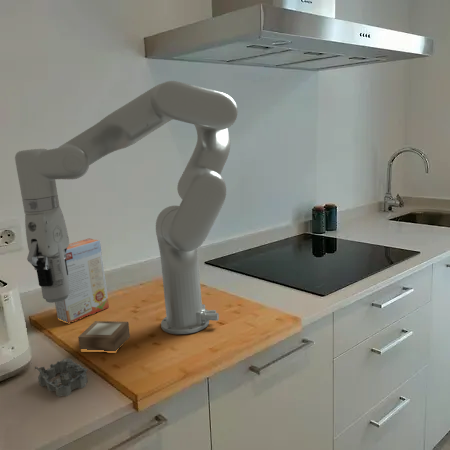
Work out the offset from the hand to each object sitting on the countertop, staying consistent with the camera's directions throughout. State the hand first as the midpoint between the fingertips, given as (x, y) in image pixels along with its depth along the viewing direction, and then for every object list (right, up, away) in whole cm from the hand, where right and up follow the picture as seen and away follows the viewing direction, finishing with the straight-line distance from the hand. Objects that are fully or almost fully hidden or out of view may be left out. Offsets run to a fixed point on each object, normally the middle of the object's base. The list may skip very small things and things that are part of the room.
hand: (54, 279), depth 111 cm
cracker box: (-1, -13, +26) cm, 30 cm away
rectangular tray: (+11, -17, +6) cm, 21 cm away
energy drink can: (0, -5, +1) cm, 5 cm away
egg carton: (+6, -21, -10) cm, 24 cm away
